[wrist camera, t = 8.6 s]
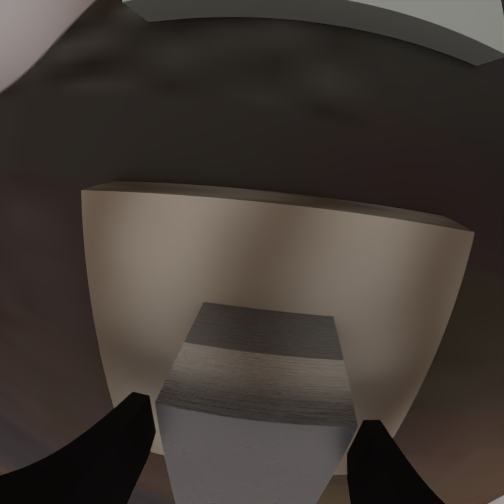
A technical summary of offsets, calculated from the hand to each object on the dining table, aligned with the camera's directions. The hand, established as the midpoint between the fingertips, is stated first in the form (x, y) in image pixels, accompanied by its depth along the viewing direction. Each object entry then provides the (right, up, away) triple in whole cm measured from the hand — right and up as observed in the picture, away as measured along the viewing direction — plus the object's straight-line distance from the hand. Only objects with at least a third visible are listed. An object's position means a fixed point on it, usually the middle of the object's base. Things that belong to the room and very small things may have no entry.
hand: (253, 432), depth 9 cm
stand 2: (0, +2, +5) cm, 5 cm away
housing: (0, +1, +2) cm, 3 cm away
